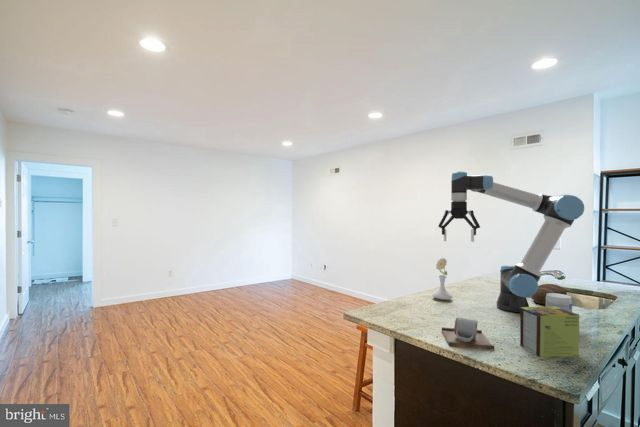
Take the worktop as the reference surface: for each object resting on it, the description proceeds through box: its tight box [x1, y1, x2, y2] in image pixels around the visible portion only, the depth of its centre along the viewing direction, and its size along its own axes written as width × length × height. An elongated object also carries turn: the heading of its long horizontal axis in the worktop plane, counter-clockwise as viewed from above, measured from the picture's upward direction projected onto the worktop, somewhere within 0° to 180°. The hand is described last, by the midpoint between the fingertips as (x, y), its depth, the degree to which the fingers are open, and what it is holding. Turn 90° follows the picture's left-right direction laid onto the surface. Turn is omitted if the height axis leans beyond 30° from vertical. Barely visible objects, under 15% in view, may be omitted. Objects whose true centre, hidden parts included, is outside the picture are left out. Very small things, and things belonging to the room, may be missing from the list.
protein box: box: [519, 306, 580, 358], centre depth 119 cm, size 10×15×16 cm
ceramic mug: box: [453, 317, 479, 342], centre depth 125 cm, size 11×8×8 cm
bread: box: [530, 283, 568, 306], centre depth 190 cm, size 16×36×8 cm, turn 134°
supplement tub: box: [545, 293, 573, 312], centre depth 143 cm, size 10×10×15 cm
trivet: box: [441, 326, 495, 350], centre depth 128 cm, size 16×16×2 cm
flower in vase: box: [432, 257, 453, 301], centre depth 188 cm, size 13×11×25 cm
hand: (458, 241), depth 167 cm, fingers open, 13 cm apart
